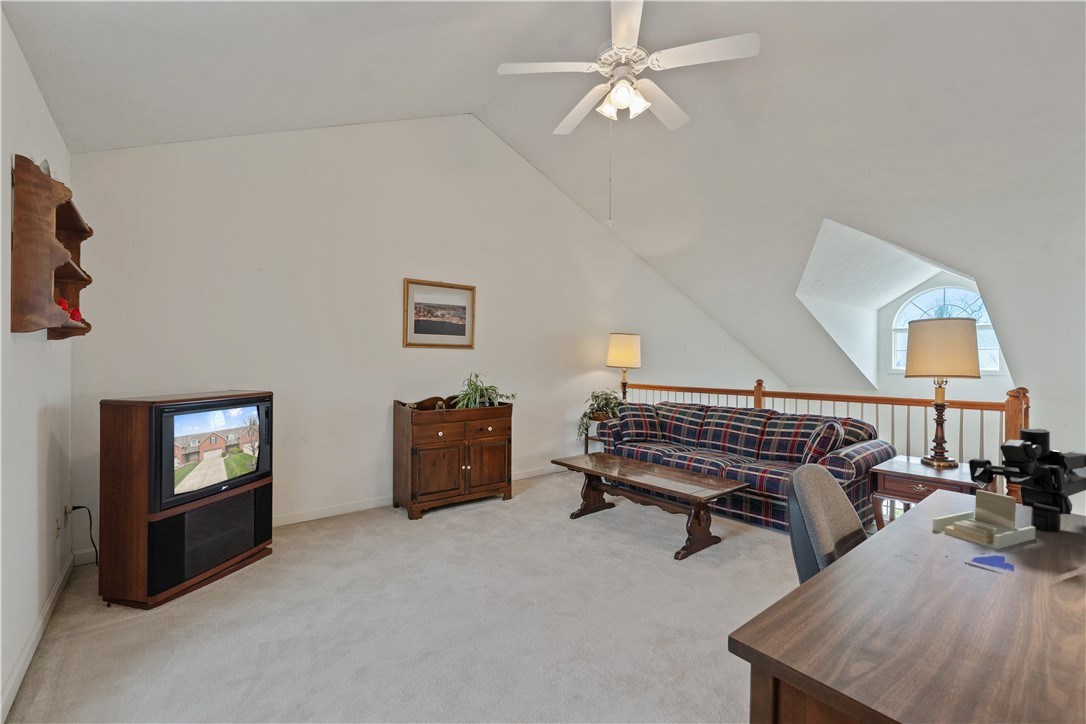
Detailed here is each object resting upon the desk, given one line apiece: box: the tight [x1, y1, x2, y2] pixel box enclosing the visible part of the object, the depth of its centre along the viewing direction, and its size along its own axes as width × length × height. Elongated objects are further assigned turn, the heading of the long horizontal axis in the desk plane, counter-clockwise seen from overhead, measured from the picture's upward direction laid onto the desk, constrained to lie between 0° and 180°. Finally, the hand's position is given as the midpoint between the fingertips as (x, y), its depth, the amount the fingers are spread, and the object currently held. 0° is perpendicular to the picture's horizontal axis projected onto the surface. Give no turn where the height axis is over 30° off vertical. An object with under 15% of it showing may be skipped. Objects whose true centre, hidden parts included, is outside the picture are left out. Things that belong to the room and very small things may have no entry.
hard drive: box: [967, 552, 1015, 575], centre depth 116 cm, size 2×8×12 cm
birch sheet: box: [974, 489, 1017, 530], centre depth 134 cm, size 1×8×10 cm, turn 25°
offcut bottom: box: [943, 525, 994, 546], centre depth 130 cm, size 6×9×2 cm, turn 25°
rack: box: [932, 510, 1036, 550], centre depth 132 cm, size 18×14×4 cm
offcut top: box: [954, 520, 997, 537], centre depth 130 cm, size 5×7×2 cm
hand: (996, 480), depth 127 cm, fingers open, 9 cm apart
